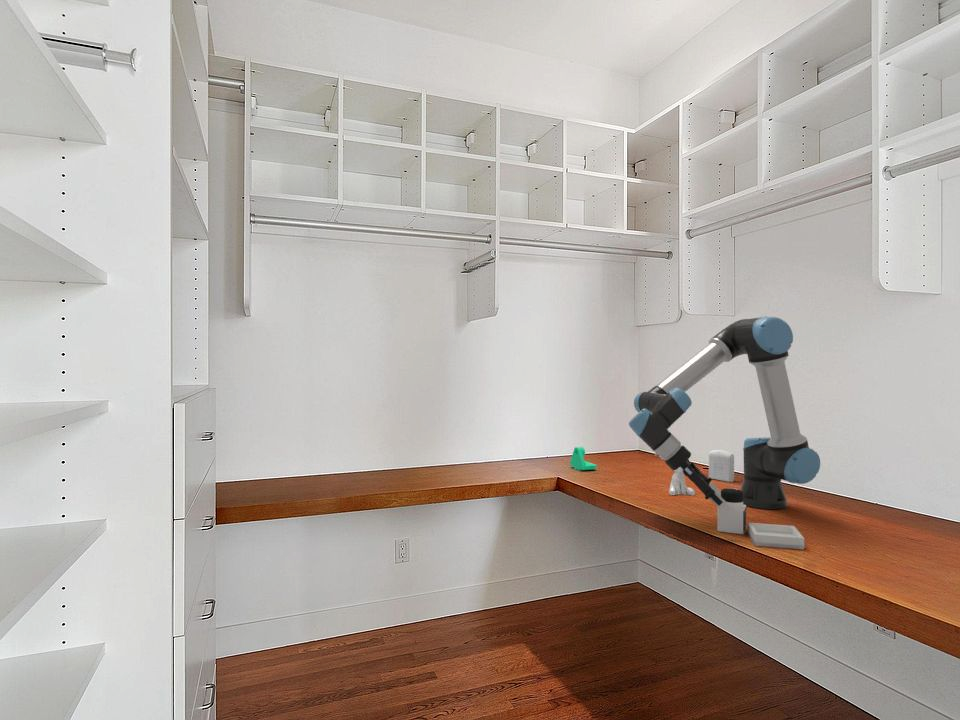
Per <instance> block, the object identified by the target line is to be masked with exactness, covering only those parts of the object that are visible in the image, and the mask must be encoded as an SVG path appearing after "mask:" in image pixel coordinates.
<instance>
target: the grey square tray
mask: <svg viewBox="0 0 960 720" xmlns="http://www.w3.org/2000/svg"><path fill="white" fill-rule="evenodd" d="M747 534H748V536H749V539H750V540H751V542H752V543H753V545H754V547H769V548H780V549H791V550H792V549H793V550H805V537H804V536H803V535H802V533H801V532H800V531H799V530H798V529H797V527H796V526H795V525H788V524H774V523H773V524H770V523H756V522H747Z"/></svg>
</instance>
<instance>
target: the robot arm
mask: <svg viewBox="0 0 960 720" xmlns="http://www.w3.org/2000/svg"><path fill="white" fill-rule="evenodd" d="M793 341H794V334H793V330H792V329H791V326H790V325H789V324H788V323H787V322H786V321H785V320H783V319H781V318H780V317H776V316H761V317H754V318H753V317H752V318H742V319H739V320H737V321H734V322H733V323H731V324H729V325H728V326H726V327H725V328H723V329H721V331H719V332H718V333H716V334H715V335H714V336H712V337H711V338H710V339H709V340H708V344H707V345H706V346H705V347H704V348H702V349H701V350H700V351H698V352H697V353H696V354H695V355H693V356H692V357H691V358H689V359H688V360H686V361H685V363H683V364H682V365H680V366H679V367H678V368H677V369H675V370H674V371H672V373H670V374H669V375H668V376H667V377H665V378H664V379H663V380H661V381H660V382H659V383H657V384H656V385H654V387H652V388H651V389H650V390H648V391H642V392H639V393H638V394H637V395H636V396H635V397H634V400H633V406H634V410H636V412H638V413H636V414H635V416H633V417H632V418H631V419H630V421H629V423H628V427H629V428H631V430H632V431H633V432H634V433H635V435H636V436H637V437H639V438H640V439H641V440H642V441H643V442H644V443H645V444H646V445H647V446H648V447H650V449H651V450H652V451H653V452H654V456H655V457H658V456H659V458H660V459H661V460H663V461H664V463H665V465H667V466H668V467H669V468H670V469H671V470H672V471H674V470H676V469H678V468H679V467H681V468H682V469H683V474H684V476H686V477H687V478H688V479H689V481H691V482H692V483H693V484H694V485H695V486H696V487H697V489H699V490H700V491H701V492H702V493H703V494H704V496H705V497H704V499H705V500H706V501H708V500H710V501H711V502H712V503H713V504H714V505H715V506H716V507H717V508H719V509H720V510H721V511H722V512H723V513H724V514H725V515H727V514H728V513H730V512H731V511H732V510H733V508H732V507H731V506H730V505H729V504H728V503H727V502H726V501H725V500H724V499H723V498H722V497H721V490H720V489H719V488H718V487H717V485H715V484H714V483H713V482H712V481H713V479H711V478H709V476H706V475H705V474H704V473H703V472H702V471H700V469H699V468H698V467H697V465H696V464H695V463H694V462H693V461H692V462H691V461H690V460H689V459H690V458H691V456H692V452H691V451H689V450H688V449H687V447H685V445H682V444H681V443H682V442H681V441H680V440H679V439H678V438H677V437H676V436H675V435H674V434H672V433H671V432H670V430H668V429H669V428H670V427H671V426H672V425H673V424H675V422H676V421H678V420H679V418H681V417H682V416H683V415H684V414H686V412H687V411H688V410H689V409H690V408H691V407H692V404H693V402H692V399H691V397H690V396H689V395H688V393H687V391H688V390H690V389H691V388H692V387H694V386H695V385H696V384H697V383H698V382H700V381H701V380H703V378H705V377H707V376H708V375H709V374H710V373H711V372H713V371H714V370H715V369H717V368H718V367H719V366H720V365H721V364H723V363H729V362H731V361H732V360H733V359H735V358H737V357H739V356H742V355H746V356H747V359H748V362H749V364H751V365H752V366H753V367H755V369H756V370H755V371H756V377H757V380H758V385H759V389H760V393H761V394H760V395H761V398H762V403H763V408H764V412H765V416H766V422H767V425H768V426H767V427H768V430H769V433H770V437H769V436H768V437H749V438H746V439H745V440H744V441H743V448H742V450H743V482H742V485H741V488H740V490H741V491H742V492H743V505H746V507H750V508H755V509H763V510H764V509H765V510H781V509H786V508H787V507H788V500H787V497H786V493H785V491H784V487H783V485H782V481H787V482H789V483H792V484H797V485H798V484H799V485H804V484H808V483H810V482H812V480H814V479H815V478H816V477H817V474H818V473H819V471H820V469H821V459H820V456H819V453H818V452H817V451H815V450H814V449H813V448H810V446H809V442H808V441H809V440H808V439H807V438H808V437H806V436H805V435H803V434H802V433H801V430H800V426H799V421H798V417H797V413H796V408H795V404H794V399H793V395H792V389H791V385H790V380H789V375H788V370H787V368H786V360H787V358H788V357H789V356H790V355H789V350H790V349H791V348H792V344H793Z"/></svg>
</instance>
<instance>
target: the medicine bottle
mask: <svg viewBox="0 0 960 720" xmlns="http://www.w3.org/2000/svg"><path fill="white" fill-rule="evenodd" d="M720 491H721V497H722V498H723V499H724V500H725V501H726V502H727V503H728V504H729V505H730V506H731V507H732V508H733V510H732V511H731V512H730V513H728V514H727V515H725V514H724V513H723V512H722V511H721V510H720V509H719V508H718V507H717V508H716V509H717V515H716V516H717V518H716V519H717V520H716V521H717V522H716V523H717V532H721V533H727V534H728V533H729V534H736V535H737V534H738V535H745V532H746V530H747V506H746V505H743V492H742V491H741V489H738V488H732V487H727V488H723V489H721V490H720Z"/></svg>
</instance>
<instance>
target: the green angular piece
mask: <svg viewBox="0 0 960 720" xmlns="http://www.w3.org/2000/svg"><path fill="white" fill-rule="evenodd" d="M585 455H586V450H585V447H583V446H576V447H574V448H573V452H572V454H571V459H570V460H569V465H570V466H571V467H573V470H576V469H577V470H576V471H590V470H597V469H598V465H597V464H595V463H592V462H589V461H586V460H585V459H584V457H585Z"/></svg>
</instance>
